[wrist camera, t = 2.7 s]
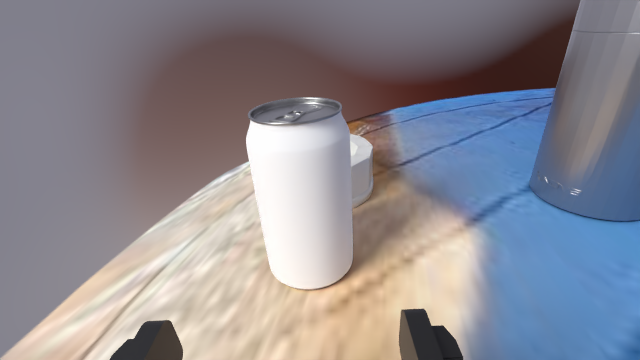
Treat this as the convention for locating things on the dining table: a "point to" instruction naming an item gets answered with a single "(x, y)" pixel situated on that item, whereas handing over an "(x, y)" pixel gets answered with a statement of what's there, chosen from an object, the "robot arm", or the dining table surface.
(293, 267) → the can
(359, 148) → the holder
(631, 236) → the dining table surface
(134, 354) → the robot arm
